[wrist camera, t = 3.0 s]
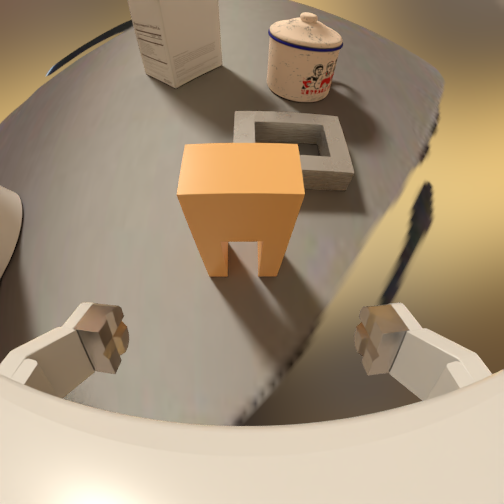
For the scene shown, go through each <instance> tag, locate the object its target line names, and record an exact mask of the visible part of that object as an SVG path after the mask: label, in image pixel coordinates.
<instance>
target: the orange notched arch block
mask: <svg viewBox="0 0 504 504" xmlns="http://www.w3.org/2000/svg"><path fill="white" fill-rule="evenodd" d="M304 196H305V191H304V183H303V176H302V169H301V162H300V155H299V149H298V144H283V143H209V144H189V145H185V148H184V153H183V159H182V165H181V171H180V177H179V183H178V189H177V197H178V200H179V202H180V205H181V207H182V210H183V213H184V215H185V218H186V220H187V223H188V225H189V228H190V230H191V233H192V235H193V238H194V240H195V243H196V245H197V248H198V250H199V253H200V255H201V258H202V260H203V262H204V265H205V267H206V270H207V272H208V274H209V277H228V242H254V241H258V276H277V274H278V271H279V269H280V266H281V263H282V260H283V257H284V254H285V252H286V249H287V246H288V243H289V240H290V237H291V234H292V231H293V228H294V225H295V222H296V220H297V217H298V214H299V211H300V208H301V205H302V202H303V199H304Z"/></svg>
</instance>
